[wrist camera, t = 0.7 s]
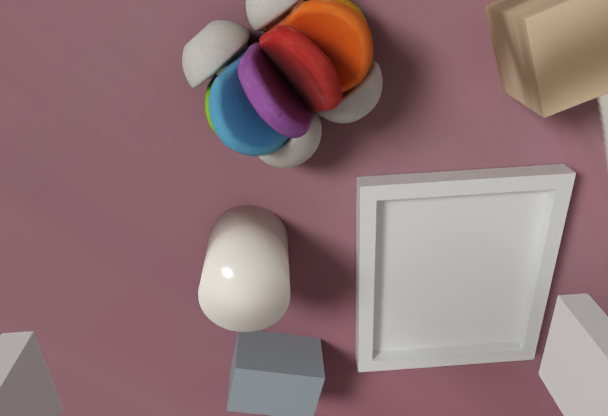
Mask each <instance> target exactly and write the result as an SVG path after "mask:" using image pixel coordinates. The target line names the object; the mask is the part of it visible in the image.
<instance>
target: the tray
mask: <svg viewBox="0 0 608 416" xmlns="http://www.w3.org/2000/svg"><path fill="white" fill-rule="evenodd" d="M575 176H576V173H575V172H574V171H573V170H571V169H570V168H569V167H568V166H566V165H565V164H556V165H540V166H524V167H508V168H492V169H476V170H460V171H444V172H428V173H412V174H396V175H379V176H363V177H357V212H356V363H357V368H358V372H369V371H382V370H396V369H410V368H423V367H437V366H450V365H464V364H477V363H491V362H505V361H518V360H532V359H534V356H535V352H536V348H537V343H538V339H539V334H540V330H541V326H542V321H543V317H544V312H545V308H546V304H547V299H548V295H549V290H550V286H551V282H552V277H553V273H554V268H555V264H556V259H557V255H558V251H559V246H560V242H561V237H562V233H563V229H564V224H565V220H566V215H567V211H568V207H569V202H570V198H571V193H572V189H573V185H574V180H575Z"/></svg>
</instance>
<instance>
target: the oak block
mask: <svg viewBox="0 0 608 416" xmlns="http://www.w3.org/2000/svg"><path fill="white" fill-rule="evenodd" d="M484 7H485V11H486V16H487V20H488V24H489V29H490V33H491V38H492V42H493V47H494V51H495V56H496V60H497V64H498V69H499V73H500V78H501V82H502V87H503V91H504V92H505V93H506V94H508V95H509V96H511V97H512V98H514V99H516V100H517V101H519V102H520V103H522V104H523V105H525V106H526V107H528V108H529V109H531V110H532V111H534V112H535V113H537V114H538V115H540V116H541V117H543V118H545V117H548V116H551V115H553V114H556V113H558V112H561V111H563V110H566V109H568V108H571V107H574V106H576V105H579V104H581V103H584V102H586V101H589V100H591V99H594V98H597V97H599V96H602V95H604V94H607V93H608V0H498V1H496V2H493V3H491V4H489V5H486V6H484Z"/></svg>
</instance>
